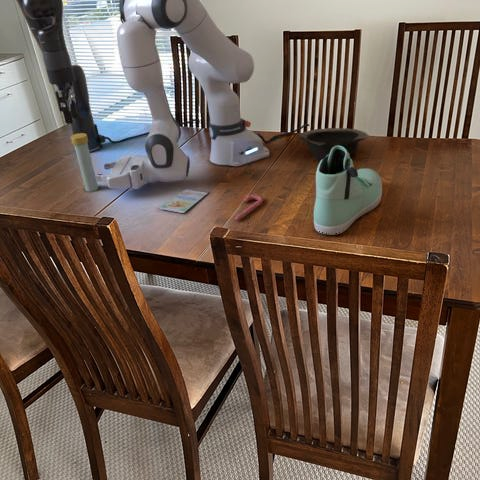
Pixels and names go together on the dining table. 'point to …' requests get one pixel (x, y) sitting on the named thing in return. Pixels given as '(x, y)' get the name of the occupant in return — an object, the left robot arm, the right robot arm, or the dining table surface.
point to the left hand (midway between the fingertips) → (72, 119)
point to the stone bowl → (332, 140)
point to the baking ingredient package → (183, 201)
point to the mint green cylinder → (86, 167)
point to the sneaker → (343, 192)
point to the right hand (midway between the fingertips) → (100, 171)
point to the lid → (79, 139)
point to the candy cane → (250, 206)
